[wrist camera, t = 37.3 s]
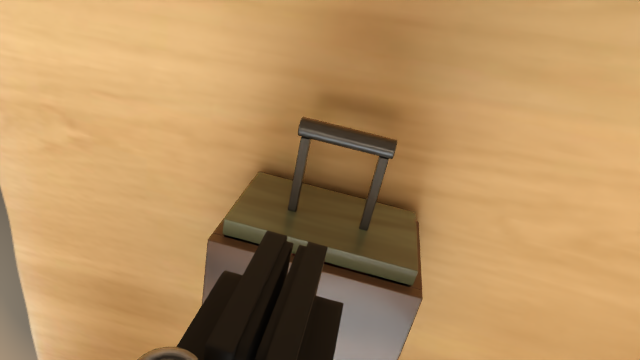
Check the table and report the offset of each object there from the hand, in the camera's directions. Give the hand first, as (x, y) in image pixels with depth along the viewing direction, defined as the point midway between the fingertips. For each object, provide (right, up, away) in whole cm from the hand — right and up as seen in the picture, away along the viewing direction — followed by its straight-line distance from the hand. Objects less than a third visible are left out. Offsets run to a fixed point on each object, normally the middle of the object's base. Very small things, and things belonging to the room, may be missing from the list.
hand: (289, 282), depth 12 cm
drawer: (+1, -2, +23) cm, 23 cm away
